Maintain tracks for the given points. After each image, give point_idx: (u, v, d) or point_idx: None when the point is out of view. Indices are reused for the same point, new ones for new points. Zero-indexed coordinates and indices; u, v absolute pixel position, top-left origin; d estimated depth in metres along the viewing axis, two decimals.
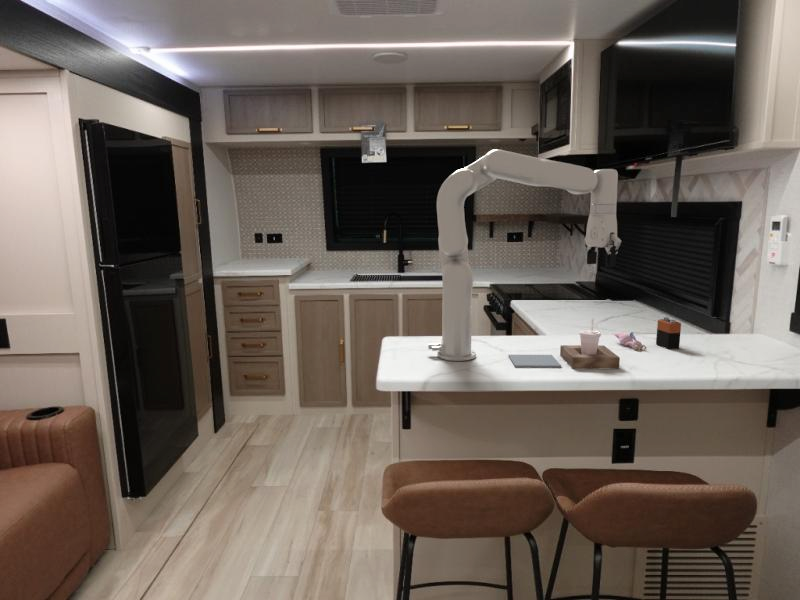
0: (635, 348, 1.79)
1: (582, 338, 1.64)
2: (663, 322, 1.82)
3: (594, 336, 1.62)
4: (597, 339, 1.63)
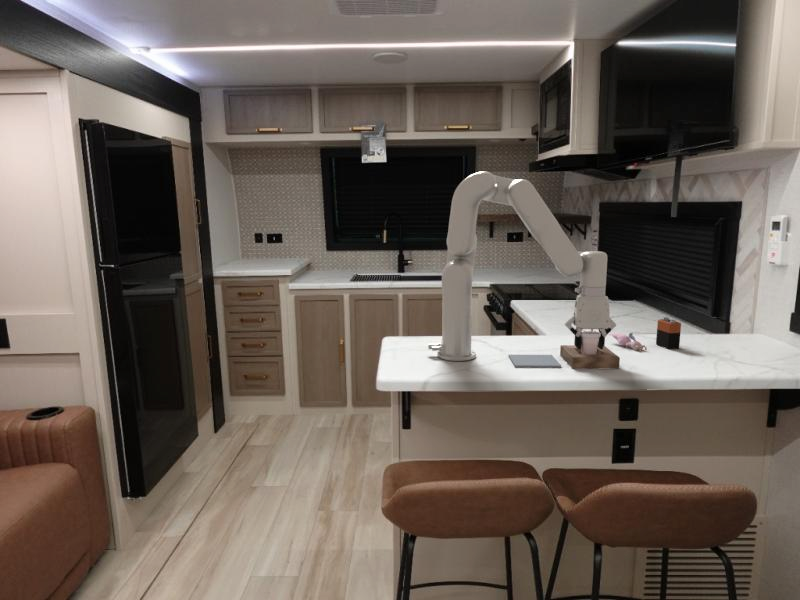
0: (636, 349, 1.79)
1: (582, 338, 1.64)
2: (663, 322, 1.82)
3: (594, 336, 1.62)
4: (597, 339, 1.63)
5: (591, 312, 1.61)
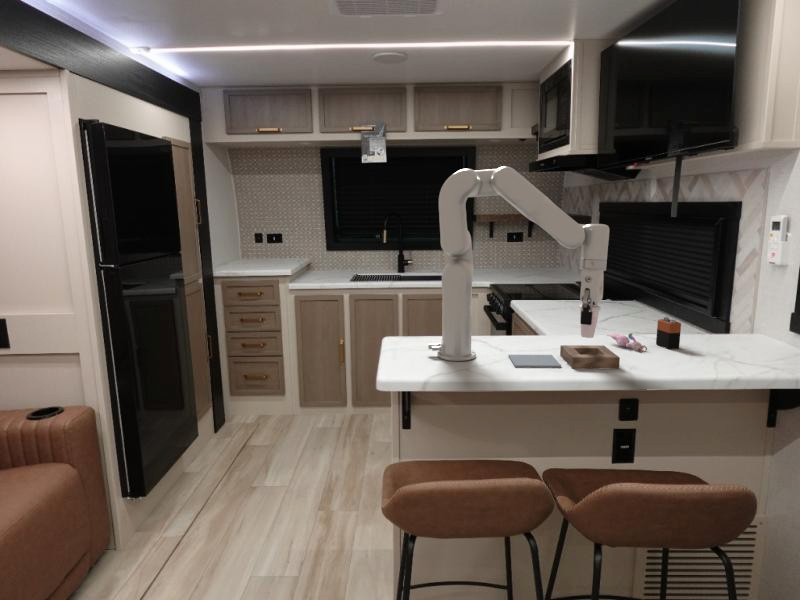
0: (637, 349, 1.78)
1: None
2: (663, 322, 1.82)
3: (599, 309, 1.63)
4: None
5: (600, 285, 1.60)
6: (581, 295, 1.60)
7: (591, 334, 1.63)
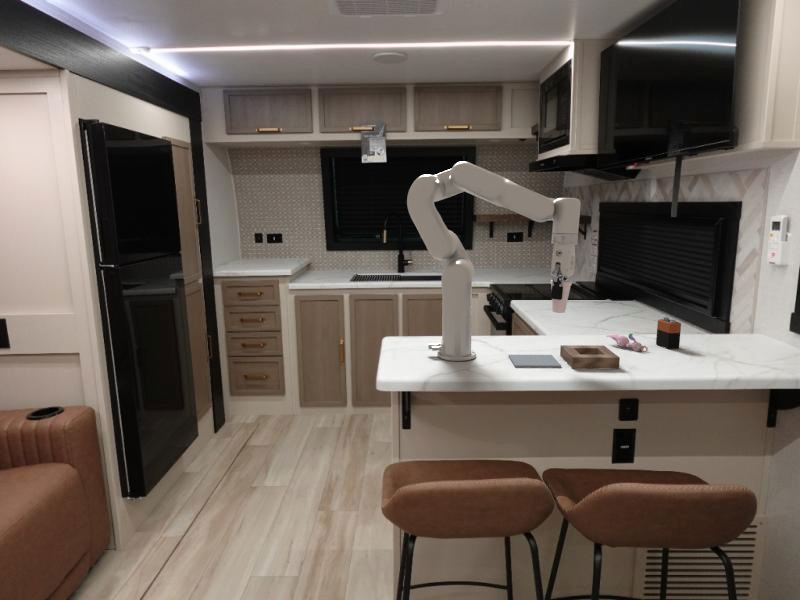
0: (637, 350, 1.78)
1: None
2: (663, 322, 1.82)
3: (570, 284, 1.62)
4: None
5: (571, 259, 1.59)
6: (552, 269, 1.59)
7: (562, 309, 1.62)
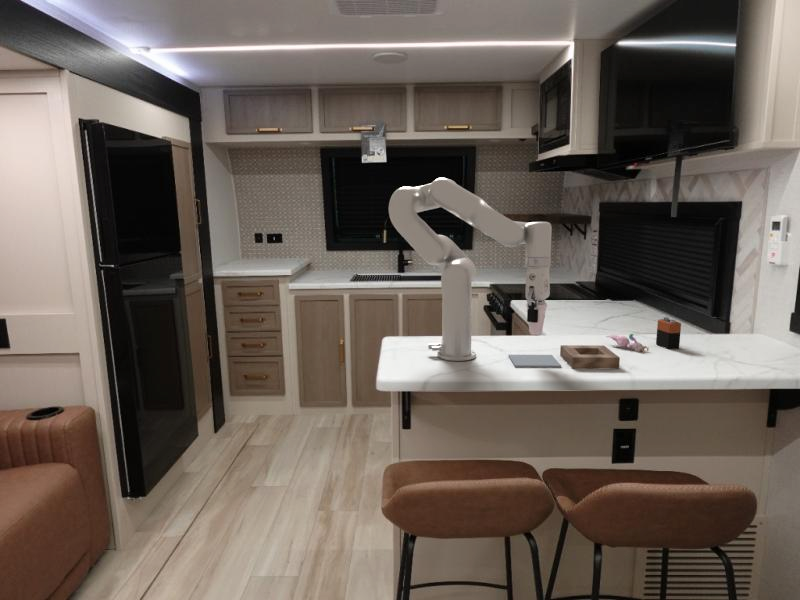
0: (639, 350, 1.77)
1: None
2: (663, 322, 1.82)
3: (546, 306, 1.63)
4: None
5: (545, 282, 1.61)
6: (526, 293, 1.60)
7: (539, 331, 1.64)
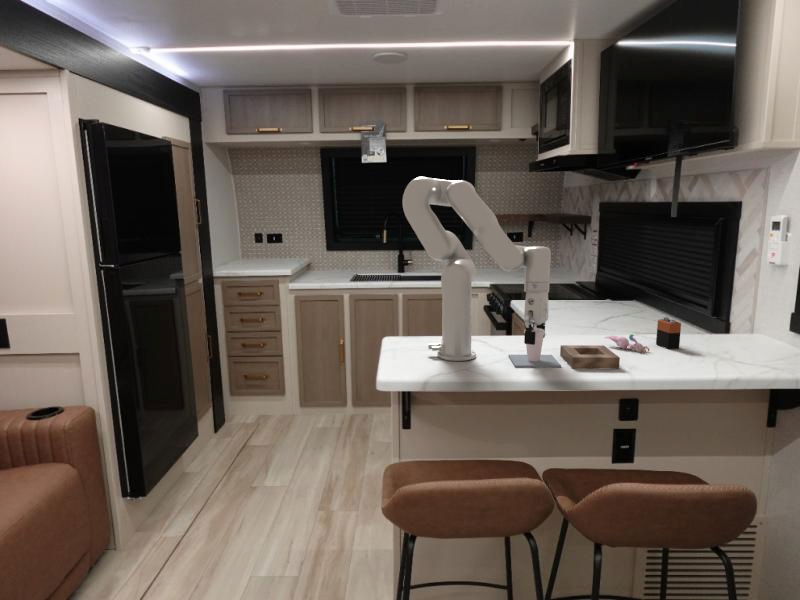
0: (640, 351, 1.76)
1: (535, 337, 1.63)
2: (663, 322, 1.82)
3: (543, 333, 1.64)
4: None
5: (544, 307, 1.62)
6: (525, 317, 1.61)
7: (536, 358, 1.65)
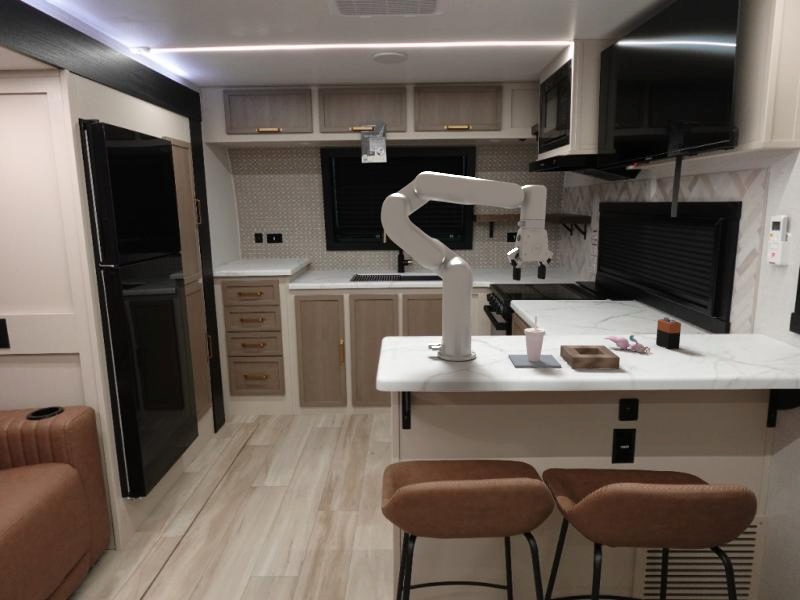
0: (641, 351, 1.76)
1: (535, 337, 1.63)
2: (663, 322, 1.82)
3: (544, 333, 1.64)
4: None
5: (534, 245, 1.64)
6: (514, 254, 1.67)
7: (536, 358, 1.65)
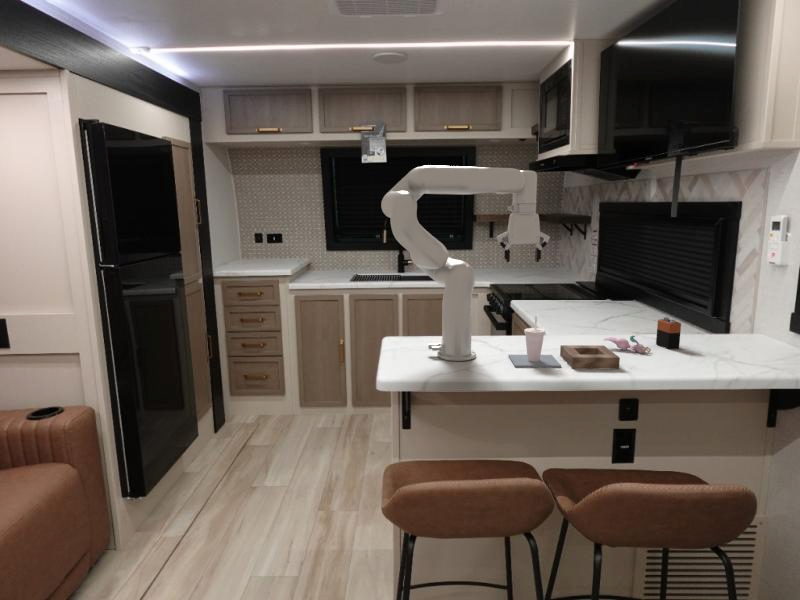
0: (643, 352, 1.75)
1: (535, 337, 1.63)
2: (663, 322, 1.82)
3: (544, 333, 1.64)
4: None
5: (522, 228, 1.71)
6: None
7: (536, 358, 1.65)
